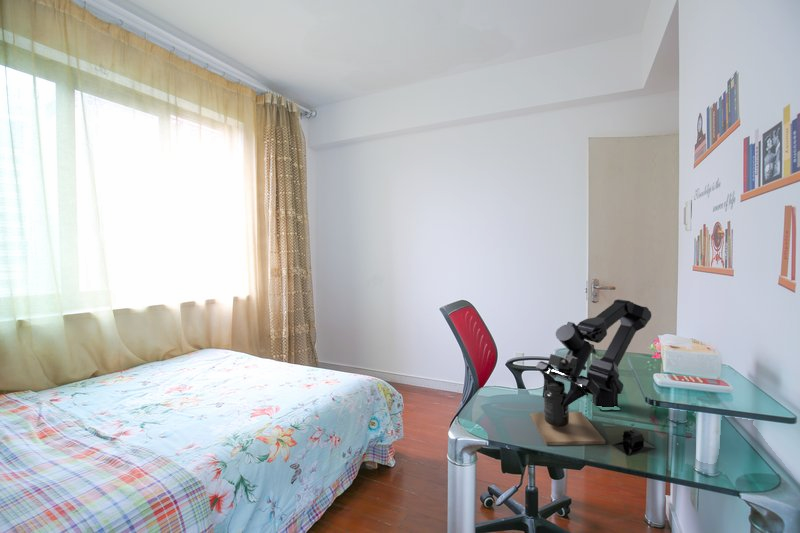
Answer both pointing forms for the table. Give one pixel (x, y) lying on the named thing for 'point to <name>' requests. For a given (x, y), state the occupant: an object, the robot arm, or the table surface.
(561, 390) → the supplement bottle
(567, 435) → the board
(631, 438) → the black block on base
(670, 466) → the table surface
